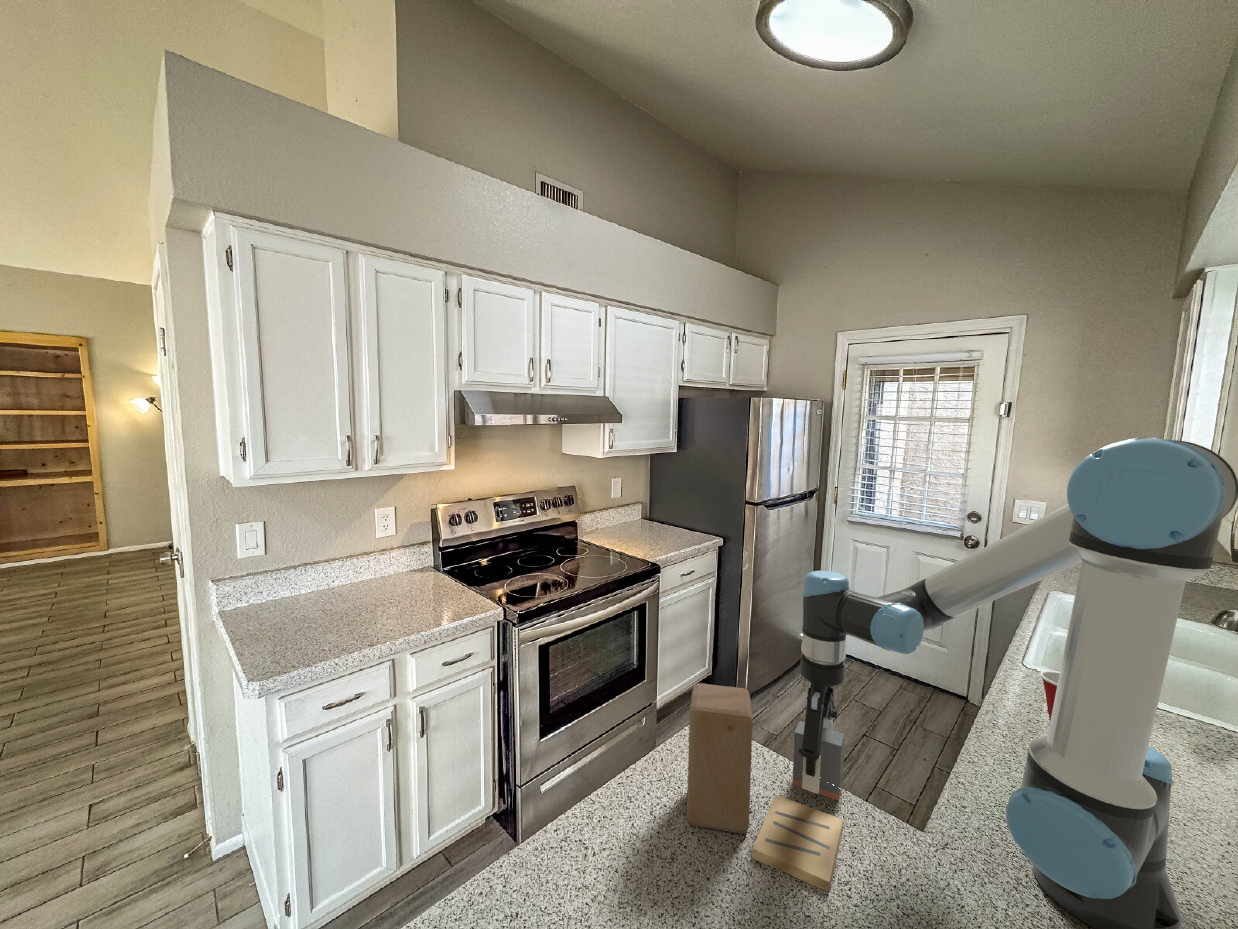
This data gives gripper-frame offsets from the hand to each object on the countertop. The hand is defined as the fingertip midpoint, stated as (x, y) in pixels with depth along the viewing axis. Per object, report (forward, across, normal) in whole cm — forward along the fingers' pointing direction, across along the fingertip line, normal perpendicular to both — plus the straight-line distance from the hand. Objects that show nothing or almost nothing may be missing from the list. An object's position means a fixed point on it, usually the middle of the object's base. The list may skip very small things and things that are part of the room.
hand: (817, 769), depth 94 cm
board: (+3, +16, 0) cm, 16 cm away
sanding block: (+3, 0, 0) cm, 3 cm away
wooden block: (+3, +16, -13) cm, 21 cm away
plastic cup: (+3, -49, +45) cm, 66 cm away
